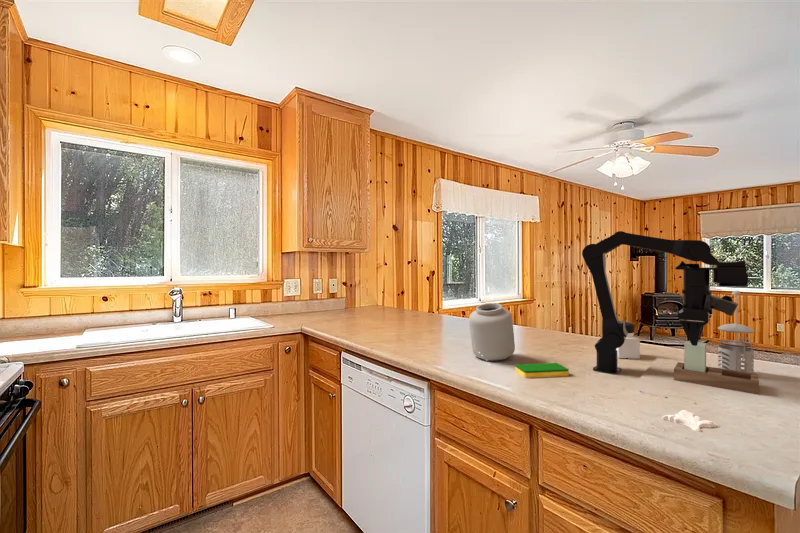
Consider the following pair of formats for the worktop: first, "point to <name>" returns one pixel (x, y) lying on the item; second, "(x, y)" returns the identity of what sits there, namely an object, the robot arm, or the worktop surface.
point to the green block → (695, 356)
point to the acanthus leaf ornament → (689, 420)
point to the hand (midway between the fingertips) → (696, 342)
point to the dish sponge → (541, 370)
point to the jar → (492, 332)
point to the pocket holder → (719, 378)
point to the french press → (736, 348)
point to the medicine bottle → (630, 344)
